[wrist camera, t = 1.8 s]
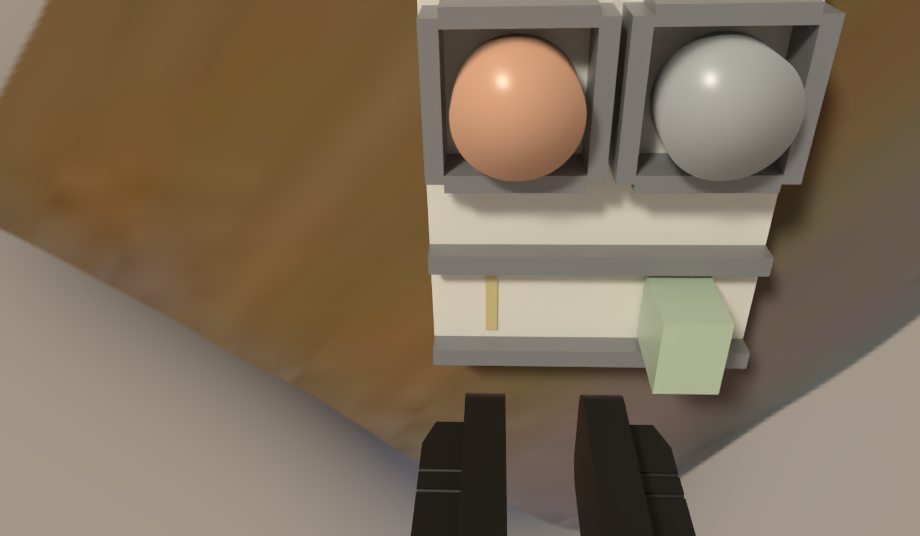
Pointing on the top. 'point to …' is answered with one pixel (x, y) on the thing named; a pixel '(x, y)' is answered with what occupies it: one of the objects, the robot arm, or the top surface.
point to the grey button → (726, 105)
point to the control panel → (598, 183)
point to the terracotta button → (517, 108)
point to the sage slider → (684, 334)
